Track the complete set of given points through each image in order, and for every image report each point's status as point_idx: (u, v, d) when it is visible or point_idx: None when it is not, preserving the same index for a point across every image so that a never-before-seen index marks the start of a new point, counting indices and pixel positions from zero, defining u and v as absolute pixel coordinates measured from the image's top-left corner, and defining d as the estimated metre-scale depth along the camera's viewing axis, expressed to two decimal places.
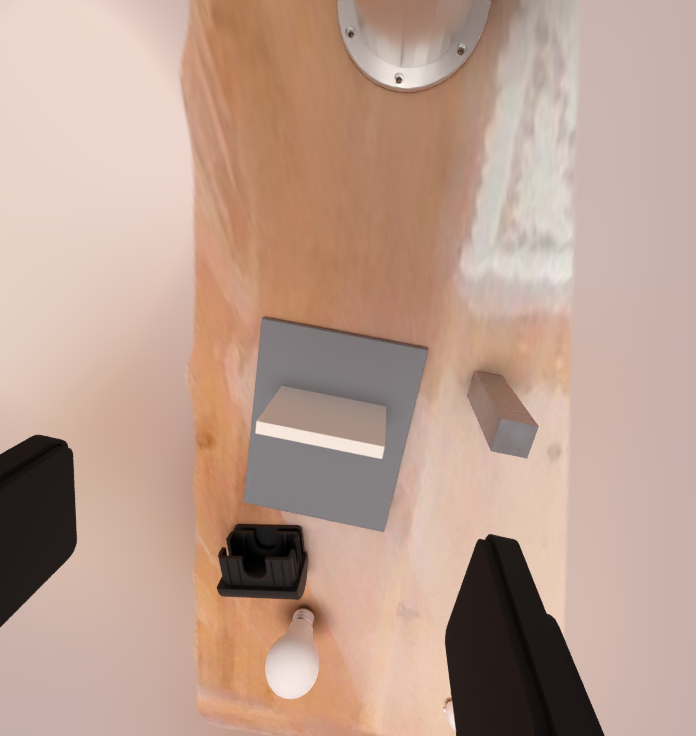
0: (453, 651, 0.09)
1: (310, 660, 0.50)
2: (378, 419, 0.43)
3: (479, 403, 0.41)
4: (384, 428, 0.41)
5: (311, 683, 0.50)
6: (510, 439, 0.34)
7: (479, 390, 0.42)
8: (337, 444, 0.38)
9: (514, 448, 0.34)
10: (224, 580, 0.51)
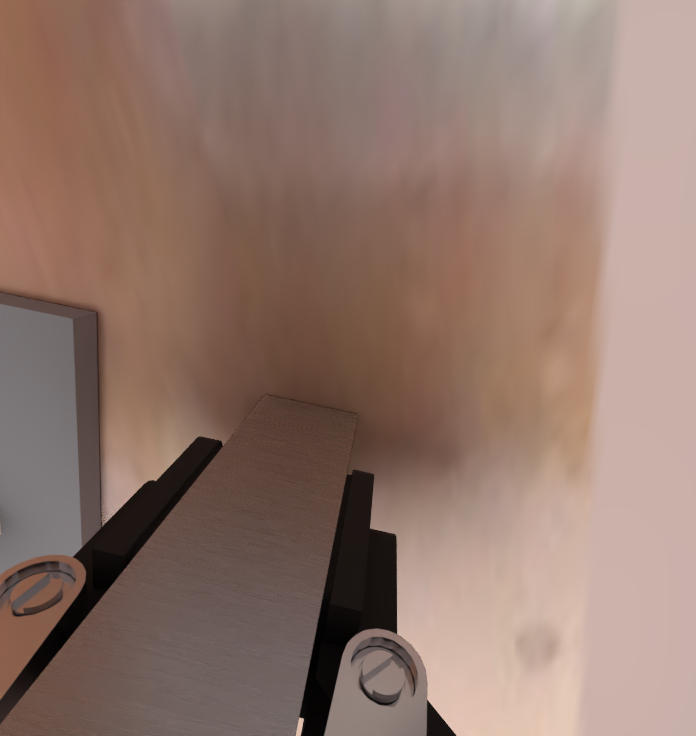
0: None
1: None
2: None
3: None
4: None
5: None
6: None
7: None
8: None
9: None
10: None
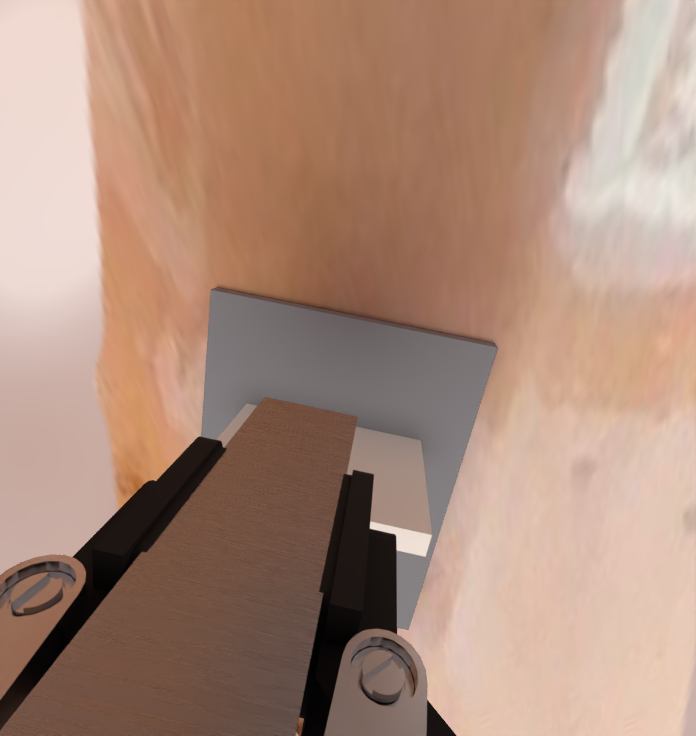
0: None
1: None
2: (410, 468, 0.24)
3: None
4: (424, 488, 0.23)
5: None
6: None
7: None
8: None
9: None
10: None
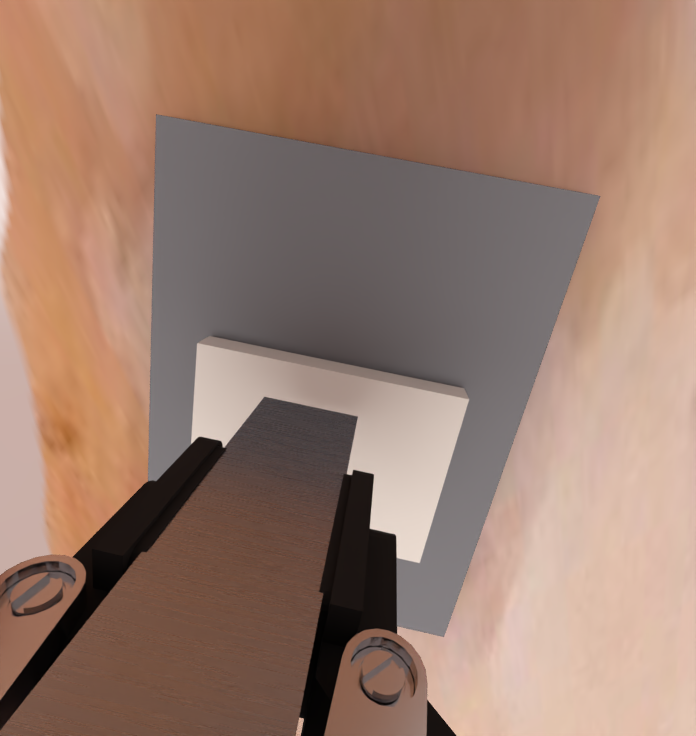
0: None
1: None
2: (429, 469, 0.19)
3: None
4: (435, 503, 0.19)
5: None
6: None
7: None
8: None
9: None
10: None
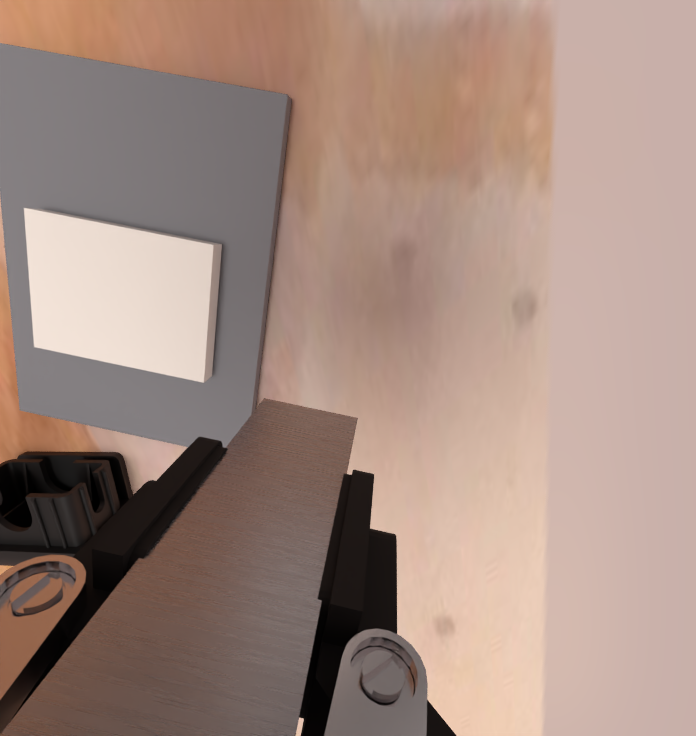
0: None
1: None
2: (196, 303, 0.26)
3: None
4: (205, 330, 0.27)
5: None
6: None
7: None
8: None
9: None
10: None
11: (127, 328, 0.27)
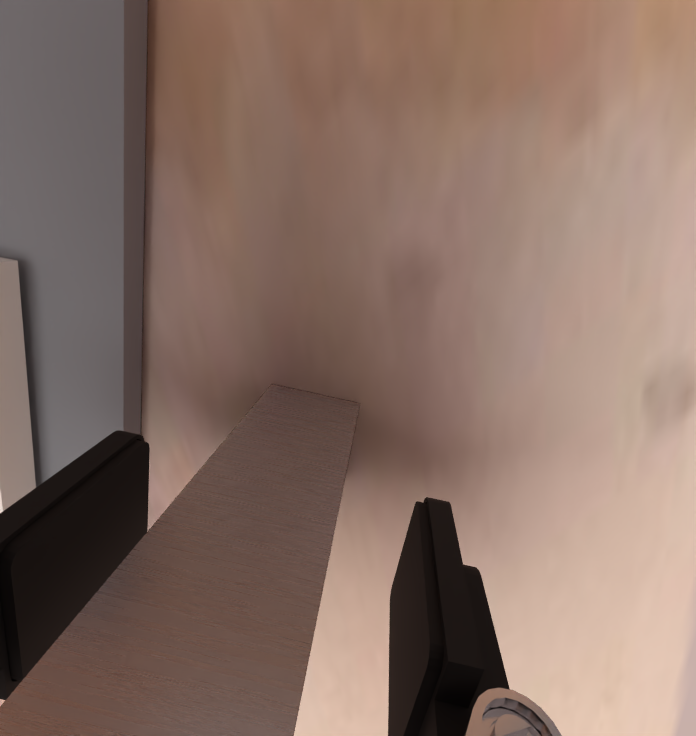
0: (393, 605, 0.10)
1: None
2: None
3: None
4: None
5: None
6: None
7: None
8: None
9: None
10: None
11: None
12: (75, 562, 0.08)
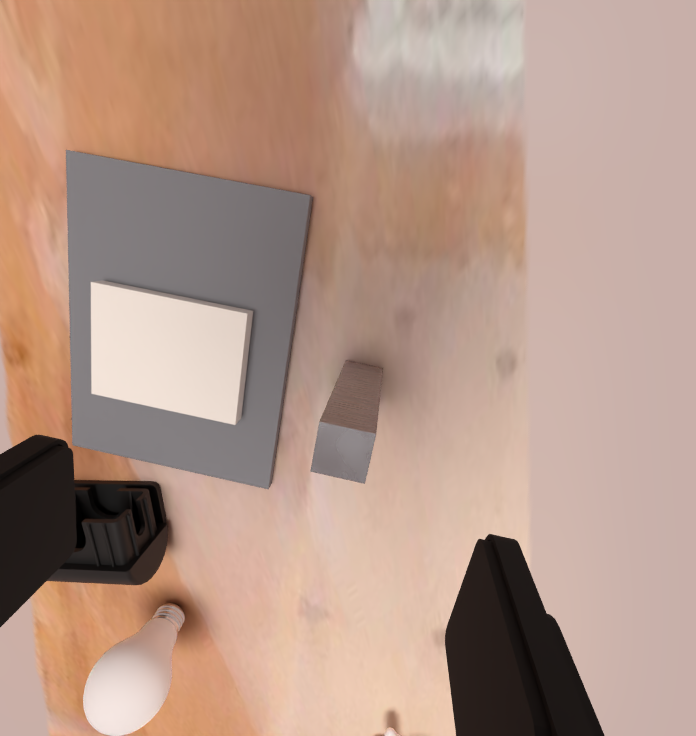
0: (453, 651, 0.09)
1: (149, 677, 0.34)
2: (231, 360, 0.31)
3: None
4: (238, 382, 0.32)
5: (148, 712, 0.33)
6: (337, 454, 0.22)
7: None
8: None
9: (344, 468, 0.22)
10: None
11: (172, 379, 0.32)
12: None
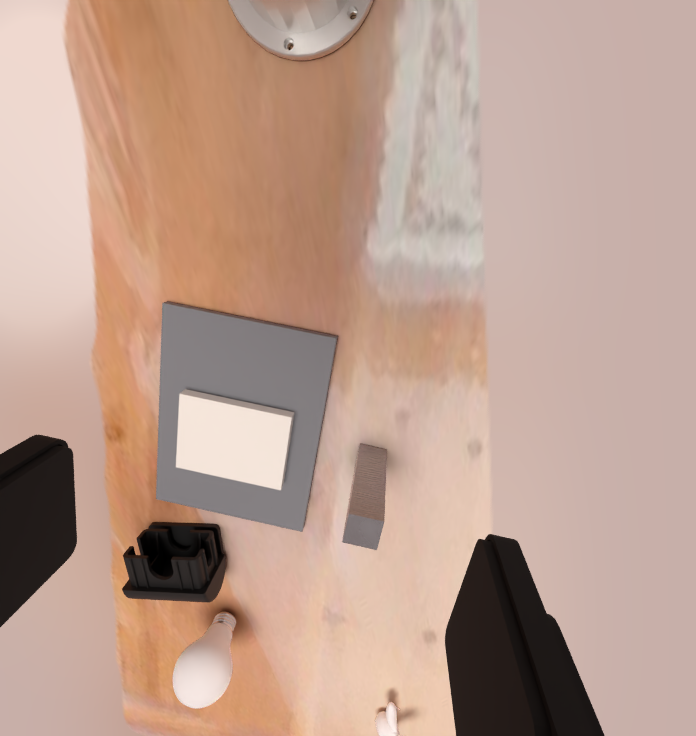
0: (453, 651, 0.09)
1: (219, 667, 0.47)
2: (279, 447, 0.44)
3: None
4: (283, 462, 0.45)
5: (219, 691, 0.47)
6: (359, 532, 0.35)
7: (355, 468, 0.42)
8: None
9: (363, 540, 0.35)
10: (130, 581, 0.48)
11: (235, 459, 0.45)
12: None
